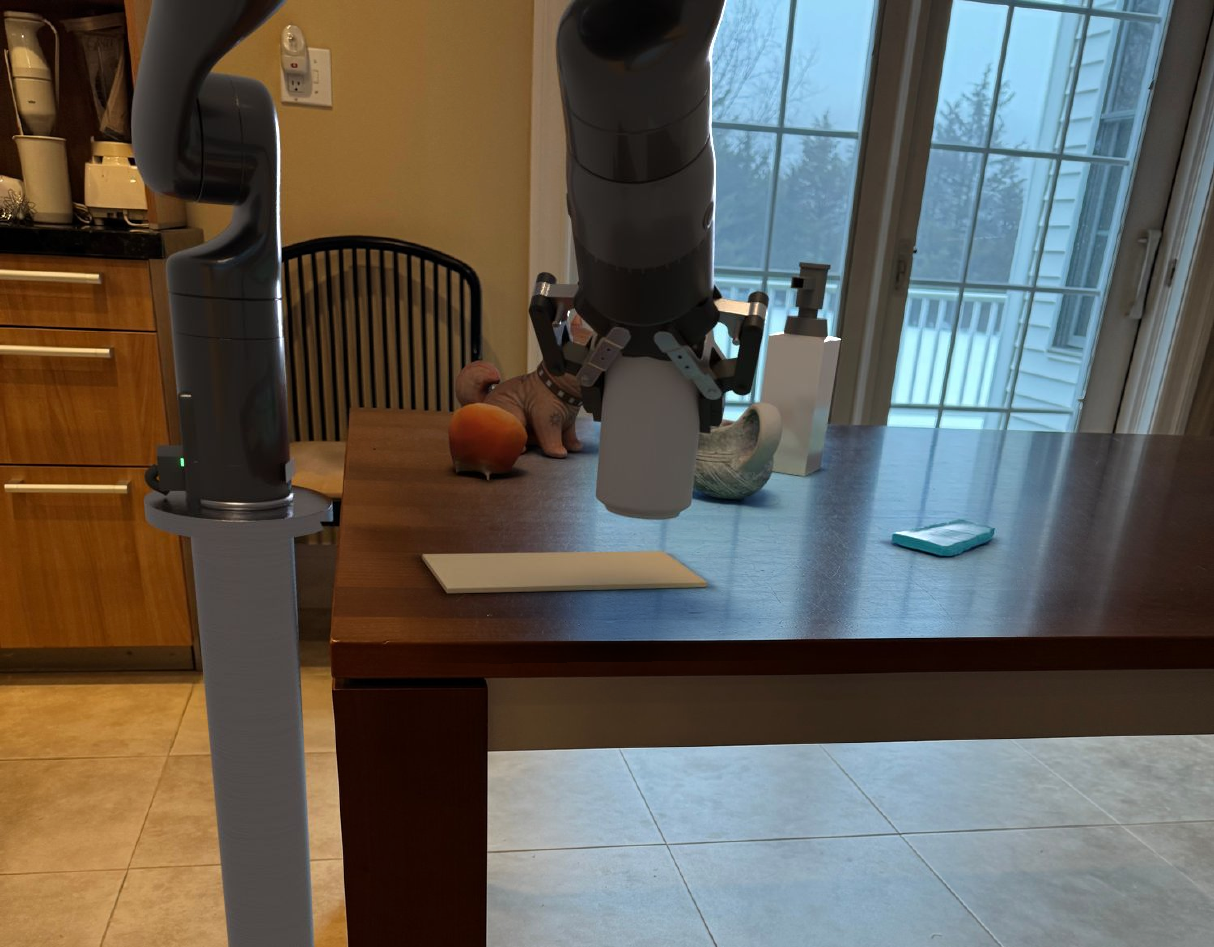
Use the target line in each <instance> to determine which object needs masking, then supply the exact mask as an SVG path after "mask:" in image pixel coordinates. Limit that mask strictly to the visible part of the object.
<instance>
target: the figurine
mask: <svg viewBox="0 0 1214 947" xmlns="http://www.w3.org/2000/svg"><path fill="white" fill-rule="evenodd" d="M568 323H569V327H570V330H571V334H572V337H573V342H575V343H578V344H581V345H584V343H585V342H586V340H587V339H588V337H589V336H590V334H591V333H592V331H593V330H590V329H589V328H586V327H584V324H583V319H582V318H581V317H580V316H579V315H578V314H577V313H576V314H575V315H574V316H573V319H572V320H571V322H569V321H568ZM454 385H455V386H454V392H455V397H456V399H457V402H458V403H459V405H460V406H461V408H463V407H464V406H466V405H470V404H476V403H485V404H489V405H493V406H497V407H500V408H501V409H503V410H505V411H507V412H509V413H511V414H513V415H514V416H515V417H516V418H517V419H518V420H519V421H520V422H521V423H522V426H523V427H524V428H525V431H526V434H527V436H528V438H527V441H526V444H528V445H532V446H533V445H534V446H536V445H537V446H539V447H541V449H542V451H543V452H544V454H545V455H546V456H549V457H551V458H560V459H561V458H562V459H563V458H566V457H567V455H568V451H571V452H580V451H581V450H582V449H583V444H582V442H581V441H580V440H579V439H578V436H577V434H576V433H577V432H576V420H577V417H578V416H579V413H580V410H581V407H583V403H582V396H581V389H580V384H579V383H578V382H577V381H576V377H575V376H573V375H571V374H568V373H565V375H563V376H561V377H556V376H553V375H551V374H550V373H548V371H547V369H546V366H545V363H544V359H543V358H542V359H541V361H540V362H539V364H538V365H537V366H536V369H535V370H533V371H532V372H529V373H525V374H521V375H516V376H514V377H511V378H508V379H506V380H504V381H502V382H501V374H500V371H499V370H498V368H497V367H496V366H495V365H493V364H492V363H491V362H488V361H486V360H474V361H472V362H469V363H468V364H467V365H465V366H464V367H463V368H462V369H461V370H460V372H459V373H458V374H457V377H456V380H455V384H454ZM493 386H494V387H493ZM492 387H493V388H492ZM526 450H527V447H526V445H525V446H524V449H523V451H522V452H521V454H524V453H526Z"/></svg>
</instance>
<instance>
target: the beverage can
mask: <svg viewBox="0 0 1214 947" xmlns="http://www.w3.org/2000/svg"><path fill="white" fill-rule="evenodd" d="M700 393H701V391H700V390H699V389H698V387H697V386H696V384H695V383H694V382H693V380H692V379H690V380H686V379H685V378H684V377H683V375H682V374H681V372H680V371H679V370H678V368H677V367H676V366H675V364H674V363H673V362H672V361H662V360H657V359H654V358H650V357H636V358H633V357H623V356H622V353H621V352H619V353H618V355H617V356H616V358H615V359H614V360H613V362H612V363H611V365H610V366H609V367H608V369H607V370H606V371H605V373H604V387H603V401H602V415H601V422H600V428H599V429H600V430H599V442H598V443H599V445H598V455H597V456H598V457H597V458H598V459H597V470H596V487H595V497H596V499H597V501H598V502H599V503H601V504H602V505H604V508H605V509H606V511H608V512H610V513H612V514H615V515H616V516H617V515H618V516H621V517H626V518H630V519H639V520H651V521H660V520H661V521H662V520H672V519H676V518H678V517H679V516H680V514H681V513H682V512H683V511H686V510H687V509H688V508H690V507H691V506H692V501H693V494H694V488H693V484H694V475H695V466H696V456H697V447H698V438H699V429H700Z"/></svg>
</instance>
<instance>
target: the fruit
mask: <svg viewBox="0 0 1214 947" xmlns="http://www.w3.org/2000/svg"><path fill="white" fill-rule="evenodd" d="M447 432H448V445H449V446H448V447H449V452H450V456H451V461H452V465H453V467H454V468H455V471H456V472H455V474H458V473H459V472H472V473H473V472H474V473H481V474H483V475H485V476H486V480H487V481H488V482H489V481H490V475H492V474H493V475H506V474H508V473H509V472H511V470H512V468H513V467H514V465H516V462H517V461H518V459H519V457H520V456H521V454H522V453H521V452H522V451H523V449H524V446H525V447H526V444H527V443H526V441H527V438H528V436H527V434H526V431H525V428H524V427H523V426H522V423H521V422H520V421H519V420H518V419H517V418H516V417H515V416H514V415H513V414H511V413H509V412H507V411H505V410H503V409H501V408H500V407H497V406H493V405H489V404H485V403H476V404H470V405H466V406H464V407H461V408H458V409H456V410H455V411H454V412H453V414H452V416H451V418H450V422H449V426H448V431H447Z"/></svg>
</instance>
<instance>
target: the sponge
mask: <svg viewBox="0 0 1214 947" xmlns="http://www.w3.org/2000/svg"><path fill="white" fill-rule="evenodd" d="M995 531H996V528H995V527H992V526H988V525H986V524H985V525H984V524H980V523H976V522H972V521H969V520H966V519H954V520H951V521H949V522H941V523H934V524H932V525H927V526H923V527H916V528H911V529H907V530H904V531H903V530H900V531H897V532H893V533H892V534H891V543H893V544H897V545H899V546H903V547H906V548H910V549H913V550H918V551H922V552H926V553H930V554H934V555H937V556H945V557H952V556H957V555H960V554H962V553H963V552H965V551H969V550H971V548H974V547H977V546H979V545H982V544H985V543H986V544H987V543H988V542H989V541H991V540H992V538H993V537H994V535H995Z"/></svg>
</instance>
